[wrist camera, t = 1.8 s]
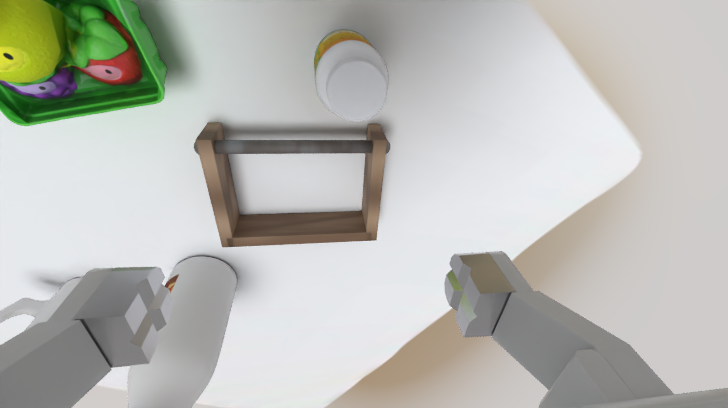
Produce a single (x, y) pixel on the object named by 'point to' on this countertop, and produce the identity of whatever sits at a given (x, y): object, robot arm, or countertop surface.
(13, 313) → the mug
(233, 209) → the wooden bar rack
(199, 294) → the milk bottle
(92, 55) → the fruit basket
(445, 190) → the countertop surface
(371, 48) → the supplement bottle
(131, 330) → the robot arm
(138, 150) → the countertop surface
